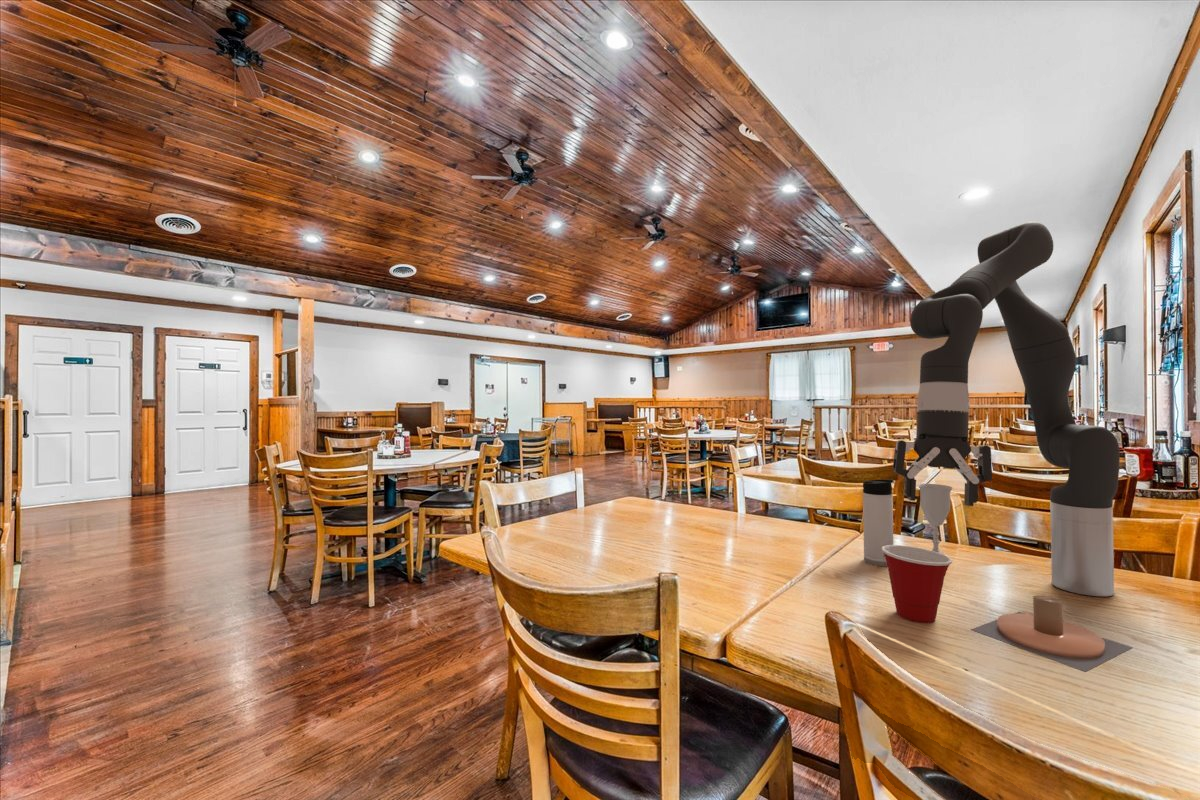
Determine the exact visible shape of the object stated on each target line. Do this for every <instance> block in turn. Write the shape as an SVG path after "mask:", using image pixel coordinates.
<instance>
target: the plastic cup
mask: <svg viewBox="0 0 1200 800" xmlns="http://www.w3.org/2000/svg"><path fill="white" fill-rule="evenodd" d="M931 550H932V549H931ZM931 550H930V549H927V548H922V547H917V546H916V547H915V546H909V545H900V544H893V545H886V546H883V547H882V551H883V552H884V554H885V558H886V561H887V566H886V568H887V569H888V575H889V580H890V587H891V592H892V598H893V599H894V600H893V601H894V605H895V611H896V613H897V616H899V617H900V618H901V619H904V620H906V621H910V622H912V623H913V622H914V623H918V624H929V623H933V622H935V621H936V619H937V613H938V608H939V605H940V601H941V596H942V590H943V586H944V580H945V577H946V575H947V571H948V568H949V567H950V565H951V564H952V563H953V559H952V558H951V557H950V556H948V555H946V554H945V553H944V554H945V555H944V554H941V553H938V552H935V551H931Z"/></svg>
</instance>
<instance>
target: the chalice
mask: <svg viewBox="0 0 1200 800" xmlns="http://www.w3.org/2000/svg"><path fill="white" fill-rule="evenodd" d="M917 487H918V488H919V493H920V494H919V495H920V500H919V501H920V507H921V510H922V512H923V515H924V517H925V518H926V520H927V523H928V524H929V525H932V527H933V529H932V532H931V534H932V536H933V539H932V540H931V542H932V544H933V548H932V549H931V551H935V552H938V553H941V554H944V555H946V554H945V553H944V552H943V551H941V550H940V549H939V544H940V543H941V541H940V540H939V536H940V533H939V526H942V525H943V524H944V522H945V520H946V519H947V517H948V515H949V512H950V510H951V491H952V490H953V487H952V486H950V485H945V484H939V483H919V484H917Z"/></svg>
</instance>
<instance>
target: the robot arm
mask: <svg viewBox="0 0 1200 800" xmlns="http://www.w3.org/2000/svg"><path fill="white" fill-rule="evenodd" d="M1053 251H1054V239H1053V237H1052V235H1051V232H1050V231H1049V229H1048V227H1047V226H1045V225H1044V223H1041V222H1038V221H1027V222H1024V223H1021V224H1017V225H1014V226H1012V227H1010V228H1007V229H1005V230H1002V231H1000V232H997V233H994V234H992V235H989V236H987V237H984V238H982V240H981V241H980V242H979V243H978V246H977V257H978V259H977V260H978V262H979V263H978V264H976V265H975V266H973V267H971V268H970V269H967V271H965V272H964V273H962V274H961V275H960V276H959V277H958V278H957V279H956V280H954V282H952V283H951V284H950V285H948V286H947V287H945V288H942V289H940V290H938V291H936V292H934V293H932V294H931V295H929V296H927V297H925V298H923V299H921V301H919V302H918V303H917V304H916V305H915V306H914V308H913V310H912V312H911V314H910V318H909V324H910V328H911V330H912V332H913V333H914V334H915V335H916V336H918V337H920V338H922V339H929V340H930V339H940V338H947V339H946V341H945V342H944V344H943V345H941V346H940V347H938V348H934V349H932V350H929V351H926V352H924V353H923V354H922V356H921V358H920V368H919V369H920V371H919V387H918V388H919V389H918V392H917V393H918V394H917V403H916V405H917V407H916V408H917V410H916V412H917V413H916V437H915V440H914V441H913V442H911V441H905V440H903V439H897V441H895V445H894V453H893V454H894V455H893V464H892V472H893V473H895V474H896V475H900V476H901V477H903V478H904V488H903V490H904V491H903V492H904V493H903V494H904V497H907V499H908V500H909V501H912V502H913V501H914V502H915V501H916V500H917V499H916V494H917V493H916V491H917V479H916V478H915V477H916V476H917V475H918V474H919V473H920V472H921V471H923V470H924V469H925V468H926V467H927V466H928V467H930V468H944V469H950V470H951V469H955V470H956V471H957V472H959V474H960V475H961V476H962V478H963V479H964V480H965V481H966V482H965V483H964V497H963V499H964V502H963V503H964V506H967V507H974V504H977V503H978V499H979V485H980V484H981V483H985V482H991V481H992V479H993V471H992V470H993V468H992V467H993V465H992V449H991V446H989V445H976V446H974V445H973V446H971V445H970V443H969V419H970V416H969V415H970V409H971V408H970V406H971V404H970V393H969V381H968V380H969V361H970V357H971V355H972V351H973V348H974V344H975V342H976V339H977V336H978V333H979V331H980V328H981V325H982V322H983V316H984V315H983V314H984V313H983V310H985V308H987V306H988V305H989V304H990V303H991V302H992V301H993V300H995V302H996V305H997V307H998V309H999V313H1000V315H1001V318H1002V321H1003V323H1004V327H1005V331H1006V333H1007V337H1008V340H1009V344H1010V347H1011V351H1012V353H1013V357H1014V360H1015V363H1016V365H1017V368H1018V371H1019V374H1020V377H1021V379H1022V382H1023V385H1024V389H1025V393H1026V396H1027V399H1028V403H1029V406H1030V410H1031V414H1032V421H1033V427H1034V431H1035V436H1036V441H1037V444H1038V445H1037V446H1038V448H1039V451H1040V454H1041V455H1042V457H1043V458H1044V459H1045V461H1046V462H1047V463H1049V464H1051V465H1052V466H1054V467H1056V468H1057V467H1058V468H1063V469H1068V478H1067V480H1066V482H1065V483H1063V484H1061V485H1055V486H1053V487H1052V488H1051V489H1050V491H1049V499H1050V502H1049V504H1050V508H1049V509H1050V555H1051V556H1050V558H1051V564H1050V565H1051V568H1050V569H1051V584H1052V585H1053V586H1054V587H1056V588H1058V589H1061V590H1063V591H1067V592H1070V593H1073V594H1077V595H1083V596H1084V595H1085V596H1092V597H1112V596H1114V595H1115V569H1114V568H1115V563H1114V562H1115V559H1114V558H1115V557H1114V521H1113V520H1114V518H1113V517H1114V514H1113V510H1114V508H1113V507H1114V506H1113V501H1114V498H1115V496H1116V494H1117V491H1118V489H1119V474H1120V461H1121V460H1120V455H1121V454H1120V446H1119V442H1118V439H1117V437H1116V436H1115V434H1114V432H1112V431H1111V430H1109V429H1108V428H1106V427H1103V426H1098V425H1090V424H1087V425H1086V424H1077V423H1076V420H1075V419H1074V417H1073V414H1072V410H1071V408H1070V403H1069V391H1070V386H1071V384H1072V381H1073V377H1074V375H1075V371H1076V365H1077V356H1076V351H1075V349H1074V345H1073V342H1072V340H1071V336H1070V332H1069V331H1068V328H1067V327H1066V326H1065V324H1064V323H1063V322H1061V320H1059V318H1057V317H1055V316H1054V315H1053V314H1051V313H1050V312H1048V311H1047V310H1045V309H1044V308H1042V307H1041V306H1039V305H1038V304H1037V303H1035V302H1034V301H1032V300H1031V299H1030V298H1029V297H1028V296H1027V295H1026V294H1025V292H1023V290H1022V289H1021V287H1020V285H1019V284H1018V282H1017V280H1019V279H1020V278H1021V277H1023V276H1025V275H1027V274H1028V273H1029V272H1031V271H1032V270H1034V269H1036V268H1038V267H1039V266H1041V265H1044V264H1045V263H1046V262H1048V261H1049V260H1050V258H1051V256H1052V255H1053ZM911 449H913V450H914V452H915V453H916V454H917V455H918V456H917V458H916V459H915V460H913V462H912V463H911V465H909V467H908V468H907V469H906V468H904V467H905V457H906V454H908V453H910V451H911ZM970 453H972V454H973V457H974V458H975V459H977V474H975V473H974V471H973V470H972V468H971V466H970V465H969V464H968V463H967V461H966V460H965V459H966V458H967V456H969V455H970Z"/></svg>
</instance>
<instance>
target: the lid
mask: <svg viewBox="0 0 1200 800" xmlns="http://www.w3.org/2000/svg"><path fill="white" fill-rule="evenodd" d="M1032 604H1033V606H1032V607H1033V608H1032V609H1033V610H1032V611H1033V613H1032V614H1029V613H1028V614H1027V613H1025V614H1014V613H1007V614H1003V615H1000V616H998V618H997V619H996V620H997V628H998V631H999V632H1000V633H1001V634H1002V635H1003V636H1005V637H1006V638H1008V639H1010V640H1012V641H1014V642H1016V643H1018V644H1020V645H1023V646H1025V647H1028V648H1031V649H1034V650H1037V651H1041V652H1045V653H1049V654H1053V655H1058V656H1064V657H1071V658H1096V657H1100V656H1102V655H1103V654H1104V653H1105V642H1104V640H1103V639H1102V638H1103V637H1102V636H1100V635H1099V634H1096V633H1095V632H1094V631H1091V630H1090V629H1087V628H1085V627H1082V626H1080V625H1079V624H1078V625H1077V624H1075V623H1072V622H1069V621H1066V620H1065V621H1064V609H1063V608H1064V603H1063V601H1062V600H1061V599H1059V598H1056V597H1053V596H1049V595H1041V594H1040V595H1039V594H1037V595H1034V596H1032ZM1101 637H1102V638H1101Z"/></svg>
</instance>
